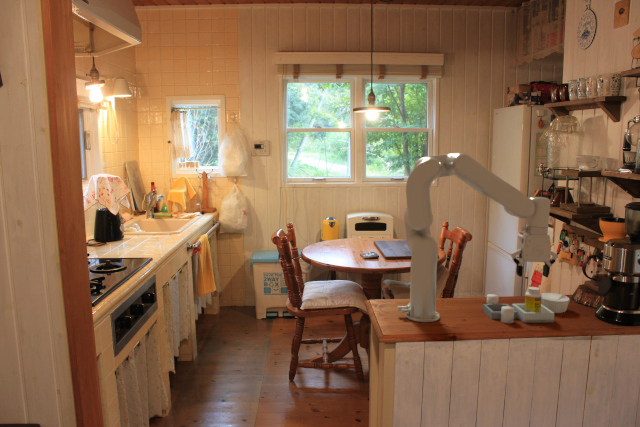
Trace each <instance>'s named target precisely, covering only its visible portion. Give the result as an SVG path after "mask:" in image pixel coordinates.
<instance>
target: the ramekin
mask: <svg viewBox="0 0 640 427" xmlns="http://www.w3.org/2000/svg"><path fill="white" fill-rule="evenodd" d="M540 294H541V295H542V298H541V304H542V305H543V306H545V307H546V308H548V309H549V310H551V311H552V312H554V314H563V312H564V313H565V312H566V311H567V310H568V306H569V304H570V297H568V296H567V295H564V294H561V293H555V292H542V293H540Z"/></svg>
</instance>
